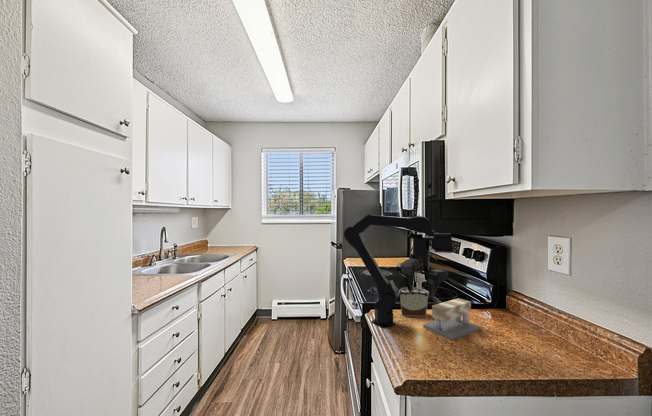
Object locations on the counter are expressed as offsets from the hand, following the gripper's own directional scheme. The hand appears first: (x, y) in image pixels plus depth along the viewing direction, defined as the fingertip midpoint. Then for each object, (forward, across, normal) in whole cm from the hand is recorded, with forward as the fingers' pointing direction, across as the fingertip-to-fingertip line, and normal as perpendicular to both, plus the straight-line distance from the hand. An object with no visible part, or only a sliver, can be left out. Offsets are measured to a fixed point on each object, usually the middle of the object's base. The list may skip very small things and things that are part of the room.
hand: (420, 295), depth 107 cm
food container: (+12, -12, +10) cm, 20 cm away
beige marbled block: (+7, +6, +10) cm, 14 cm away
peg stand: (+12, +6, +10) cm, 17 cm away
